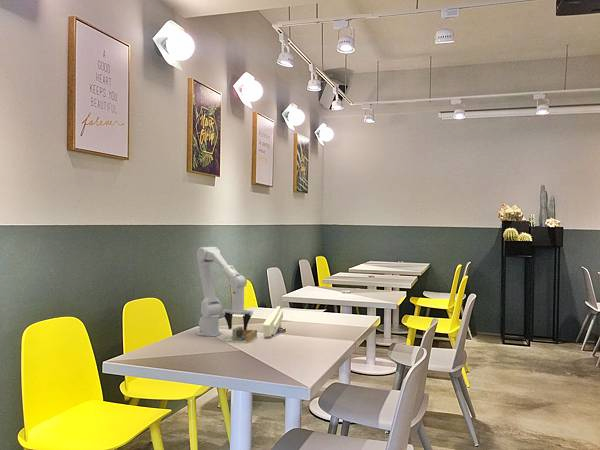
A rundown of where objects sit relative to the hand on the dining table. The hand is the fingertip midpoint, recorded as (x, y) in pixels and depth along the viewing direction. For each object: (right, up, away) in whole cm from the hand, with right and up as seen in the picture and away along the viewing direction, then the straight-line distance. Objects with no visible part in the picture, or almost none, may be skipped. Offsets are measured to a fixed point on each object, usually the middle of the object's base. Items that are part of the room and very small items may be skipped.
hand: (237, 329), depth 242 cm
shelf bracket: (+16, -6, +16) cm, 24 cm away
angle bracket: (+1, -4, -1) cm, 5 cm away
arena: (+1, -5, +1) cm, 5 cm away
